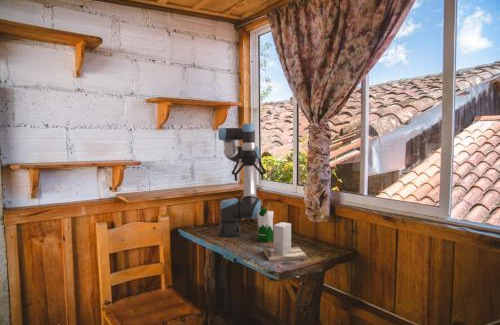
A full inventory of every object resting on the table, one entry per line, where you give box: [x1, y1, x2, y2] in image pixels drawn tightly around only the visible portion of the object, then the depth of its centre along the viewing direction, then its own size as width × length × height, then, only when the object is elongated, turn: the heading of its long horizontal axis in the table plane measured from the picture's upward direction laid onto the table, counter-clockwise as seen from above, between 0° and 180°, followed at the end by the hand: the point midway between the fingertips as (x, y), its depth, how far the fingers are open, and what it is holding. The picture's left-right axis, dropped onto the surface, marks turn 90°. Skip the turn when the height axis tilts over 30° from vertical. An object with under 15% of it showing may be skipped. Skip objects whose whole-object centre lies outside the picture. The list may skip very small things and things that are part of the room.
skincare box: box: [273, 221, 292, 255], centre depth 192 cm, size 8×7×16 cm
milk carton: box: [257, 207, 275, 244], centre depth 222 cm, size 9×9×20 cm
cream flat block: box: [263, 242, 308, 262], centre depth 193 cm, size 16×21×5 cm
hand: (248, 186), depth 212 cm, fingers open, 13 cm apart
